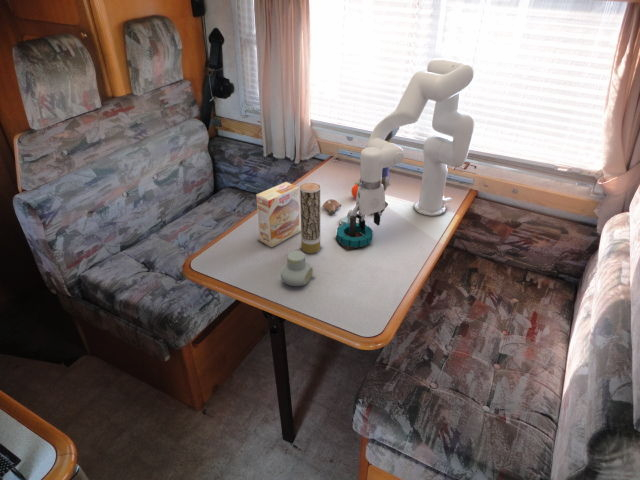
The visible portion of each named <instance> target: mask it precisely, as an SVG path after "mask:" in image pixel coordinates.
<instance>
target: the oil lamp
mask: <svg viewBox="0 0 640 480" xmlns="http://www.w3.org/2000/svg"><path fill="white" fill-rule="evenodd" d="M341 207H342V204H341V203H340V202H339V201H338V200H336V199H332V198H331V199H327V200H326V201H325V202H324V203H323V204H322V208H324V209H325V210H327V211H328V215H330V216H332V215H336V210H338V209H339V208H341Z"/></svg>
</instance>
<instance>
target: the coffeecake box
mask: <svg viewBox="0 0 640 480" xmlns="http://www.w3.org/2000/svg"><path fill="white" fill-rule="evenodd" d="M255 196H256V197H255V199H256V210H257V221H258V223H257V225H258V235H259V236H258V237H259V241H260V242H261V243H263V244H265V245H267V246H268V247H270V248H273V247H275V246H277V245H279V244H281V243H282V242H284V241H286V240H287V239H290V238H291V237H294V236H295V235H297V234H299V233H300V192H299V186H297V185H295V184H292V183H291V182H288V181H285V182H282V183H280V184H277V185H275V186H273V187H270V188H269V189H266V190H263V191H261V192H259V193H256V194H255Z"/></svg>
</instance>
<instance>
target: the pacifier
mask: <svg viewBox="0 0 640 480" xmlns="http://www.w3.org/2000/svg"><path fill="white" fill-rule="evenodd" d="M352 211H353V209H350V210H348V212H347V214H346V215H345V216H344V217H343V218H341V219H340V220H339V222H338V224H339V225H340V226H341V225H343V224H346V223H350V216H352V214H351V212H352ZM357 219H358V218H357V217H356V220H357Z"/></svg>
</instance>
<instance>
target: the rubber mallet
mask: <svg viewBox="0 0 640 480" xmlns="http://www.w3.org/2000/svg"><path fill="white" fill-rule="evenodd" d="M399 130H400V127H397V128H395V129H394V130H392V131H391V132H390V133H389V134H388V135H387V137H386V139H385V141H387V142H390V143H392V142H391V140H392V139H393V138H394V137H395V136H396V135H397V133H398V132H399ZM390 168H391V167H387V168H383V169H382V178H384V177H386V176H387V177H388V183H389V182H390V177H389V175H390Z"/></svg>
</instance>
